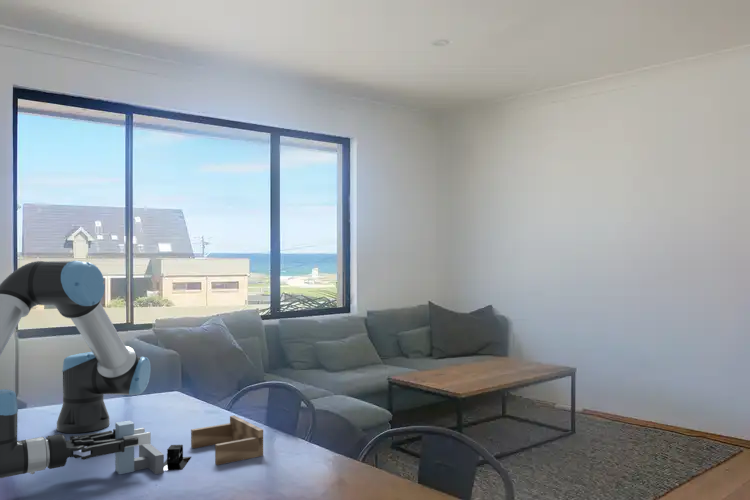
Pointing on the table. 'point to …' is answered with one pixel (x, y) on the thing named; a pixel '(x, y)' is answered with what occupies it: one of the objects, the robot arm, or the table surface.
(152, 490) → the table surface
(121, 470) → the block
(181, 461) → the black angular piece
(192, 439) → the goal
